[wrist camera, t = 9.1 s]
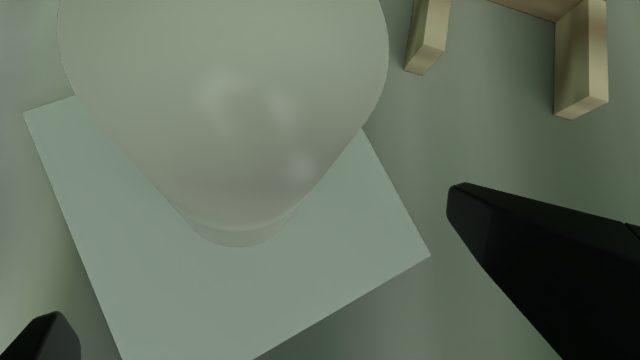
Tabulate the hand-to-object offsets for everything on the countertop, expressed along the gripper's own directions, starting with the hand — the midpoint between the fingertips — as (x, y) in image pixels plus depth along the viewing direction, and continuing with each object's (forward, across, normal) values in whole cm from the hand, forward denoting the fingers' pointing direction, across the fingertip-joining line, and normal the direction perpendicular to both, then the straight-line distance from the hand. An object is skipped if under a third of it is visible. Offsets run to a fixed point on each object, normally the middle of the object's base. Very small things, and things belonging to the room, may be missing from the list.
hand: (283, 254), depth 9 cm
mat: (+9, 0, +4) cm, 10 cm away
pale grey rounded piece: (+10, 0, +3) cm, 10 cm away
